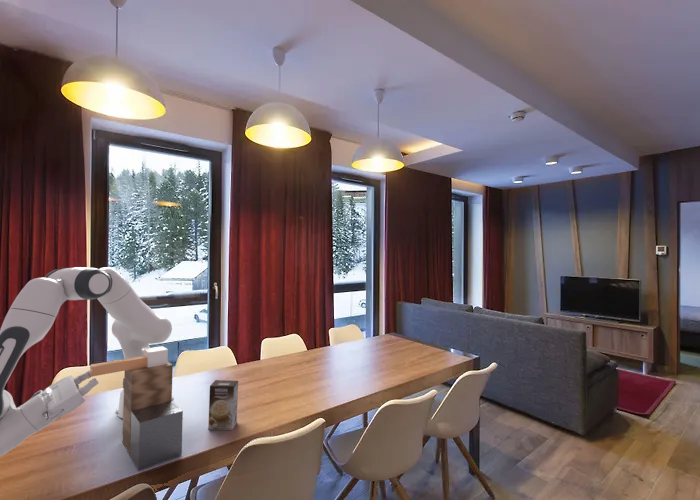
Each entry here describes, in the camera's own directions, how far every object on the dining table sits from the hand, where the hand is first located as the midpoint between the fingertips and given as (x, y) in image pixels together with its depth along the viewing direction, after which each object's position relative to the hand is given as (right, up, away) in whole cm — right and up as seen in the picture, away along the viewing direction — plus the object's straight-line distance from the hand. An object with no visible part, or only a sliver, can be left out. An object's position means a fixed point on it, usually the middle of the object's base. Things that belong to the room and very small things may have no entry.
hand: (94, 376), depth 107 cm
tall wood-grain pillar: (+10, -26, +10) cm, 30 cm away
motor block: (+18, -26, +2) cm, 32 cm away
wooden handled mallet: (+7, 0, +7) cm, 10 cm away
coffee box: (+32, -27, +22) cm, 47 cm away
